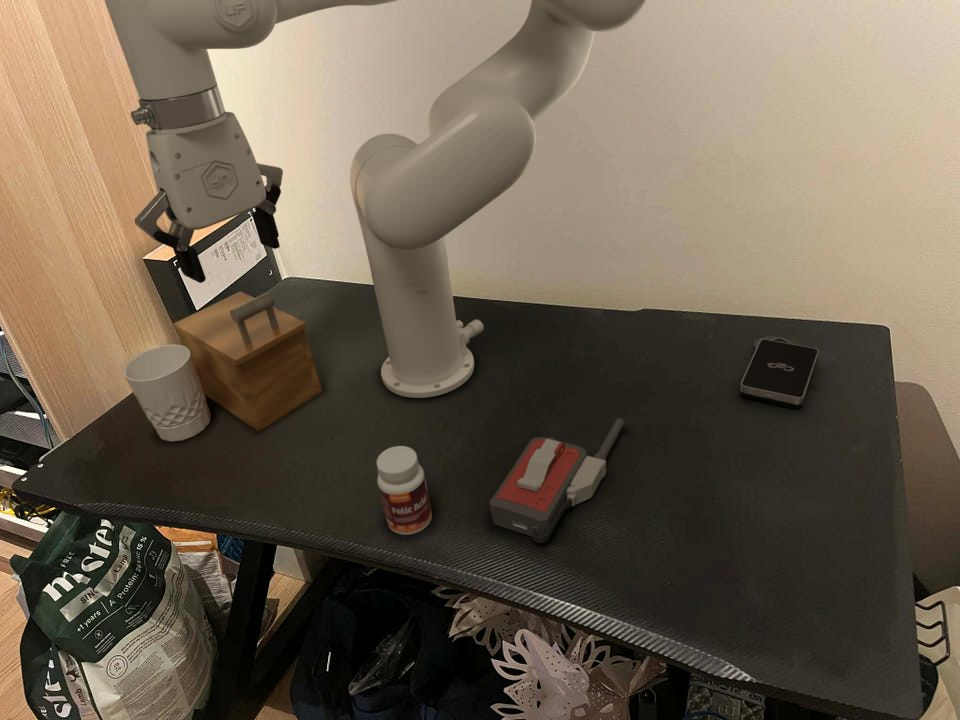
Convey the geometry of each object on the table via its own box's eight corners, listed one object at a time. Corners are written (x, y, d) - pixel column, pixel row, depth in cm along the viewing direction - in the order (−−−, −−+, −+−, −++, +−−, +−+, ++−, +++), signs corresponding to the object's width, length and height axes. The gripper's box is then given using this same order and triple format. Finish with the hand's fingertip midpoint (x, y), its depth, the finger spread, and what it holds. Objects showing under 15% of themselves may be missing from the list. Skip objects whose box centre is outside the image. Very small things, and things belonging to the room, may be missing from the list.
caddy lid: (307, 327, 89) (296, 288, 86) (237, 366, 83) (222, 325, 80) (242, 296, 98) (229, 259, 95) (175, 328, 93) (159, 291, 89)
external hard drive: (817, 362, 89) (819, 348, 88) (800, 413, 81) (802, 399, 80) (759, 351, 92) (760, 338, 91) (737, 399, 84) (739, 386, 83)
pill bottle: (397, 543, 72) (382, 482, 67) (381, 514, 75) (365, 454, 71) (440, 524, 73) (428, 463, 68) (422, 496, 77) (409, 436, 72)
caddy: (322, 391, 95) (303, 326, 89) (258, 431, 89) (233, 364, 84) (263, 358, 104) (242, 296, 98) (201, 392, 98) (175, 329, 93)
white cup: (195, 446, 88) (167, 381, 83) (140, 443, 90) (109, 379, 84) (226, 407, 95) (202, 344, 89) (174, 405, 96) (147, 343, 91)
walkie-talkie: (563, 558, 68) (630, 431, 82) (560, 526, 65) (630, 400, 79) (481, 532, 72) (559, 414, 86) (477, 500, 69) (557, 385, 83)
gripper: (118, 139, 65) (181, 302, 74) (277, 90, 75) (315, 240, 84) (85, 129, 69) (149, 284, 79) (239, 85, 79) (279, 228, 89)
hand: (235, 261), depth 81 cm, fingers open, 9 cm apart
